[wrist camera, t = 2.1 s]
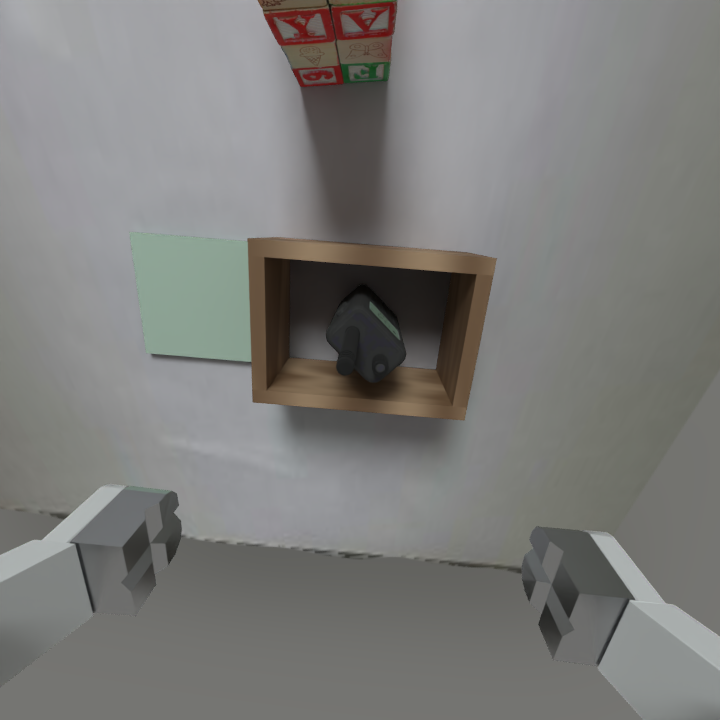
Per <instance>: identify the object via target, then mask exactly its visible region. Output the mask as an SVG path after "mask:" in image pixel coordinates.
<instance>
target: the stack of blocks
mask: <svg viewBox="0 0 720 720" xmlns="http://www.w3.org/2000/svg"><path fill="white" fill-rule="evenodd" d="M258 2H259V4H260V6H261V7H262V8H263V13H264V16H265V19H266V21H267V23H268V25H269V27H270V29H271V31H272V33H273V35H274V37H275V38H276V40H277V42H278V44H279V45H280V46H281V48H282V50H283V52H284V53H285V55H286V57H287V59H288V61H289V63H290V65H291V69H292V71H293V73H294V75H295V77H296V78H297V80H298V83H299V85H300V86H301V87H307V86H323V85H336V84H344V83H355V82H373V81H387V80H388V77H389V71H390V65H391V45H392V35H393V33H394V29H395V20H396V12H397V0H258Z"/></svg>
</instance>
